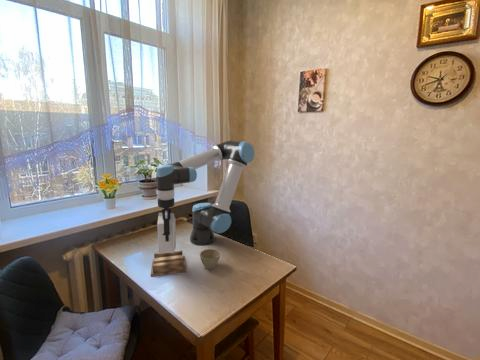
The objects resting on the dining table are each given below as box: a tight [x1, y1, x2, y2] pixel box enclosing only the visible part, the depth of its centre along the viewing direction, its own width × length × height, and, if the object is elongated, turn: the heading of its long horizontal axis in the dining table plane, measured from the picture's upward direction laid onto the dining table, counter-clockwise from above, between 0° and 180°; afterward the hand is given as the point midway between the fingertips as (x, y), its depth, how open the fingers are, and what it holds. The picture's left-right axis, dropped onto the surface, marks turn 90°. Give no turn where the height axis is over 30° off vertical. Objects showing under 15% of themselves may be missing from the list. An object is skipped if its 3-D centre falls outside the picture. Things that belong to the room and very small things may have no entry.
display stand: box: [150, 250, 187, 277], centre depth 123 cm, size 16×14×4 cm
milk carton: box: [156, 212, 177, 253], centre depth 120 cm, size 7×7×19 cm
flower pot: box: [199, 248, 221, 270], centre depth 123 cm, size 10×10×7 cm
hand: (167, 242), depth 121 cm, fingers closed on milk carton, 8 cm apart
